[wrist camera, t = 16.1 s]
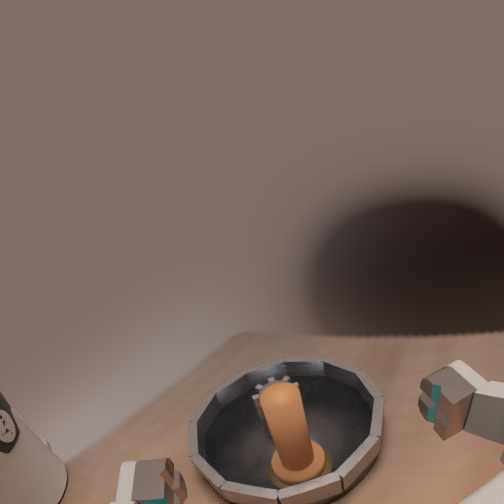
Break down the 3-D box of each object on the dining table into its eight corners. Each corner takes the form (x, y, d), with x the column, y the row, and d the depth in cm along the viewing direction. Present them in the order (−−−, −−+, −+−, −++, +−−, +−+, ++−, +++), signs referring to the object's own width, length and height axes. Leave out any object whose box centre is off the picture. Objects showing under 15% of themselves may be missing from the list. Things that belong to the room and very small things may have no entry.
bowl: (207, 533, 20) (173, 497, 18) (198, 405, 40) (178, 362, 37) (415, 465, 22) (424, 417, 20) (341, 362, 41) (334, 315, 39)
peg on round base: (291, 495, 22) (266, 428, 19) (265, 464, 26) (237, 394, 23) (336, 467, 24) (324, 394, 21) (307, 440, 28) (289, 367, 25)
